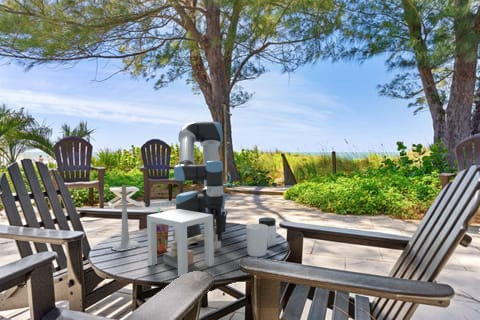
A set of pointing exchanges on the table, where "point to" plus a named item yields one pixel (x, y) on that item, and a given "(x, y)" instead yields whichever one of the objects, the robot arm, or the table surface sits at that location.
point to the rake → (172, 257)
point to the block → (190, 257)
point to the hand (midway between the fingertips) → (215, 246)
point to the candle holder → (256, 239)
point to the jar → (270, 229)
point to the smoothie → (161, 236)
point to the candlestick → (125, 226)
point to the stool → (180, 235)
